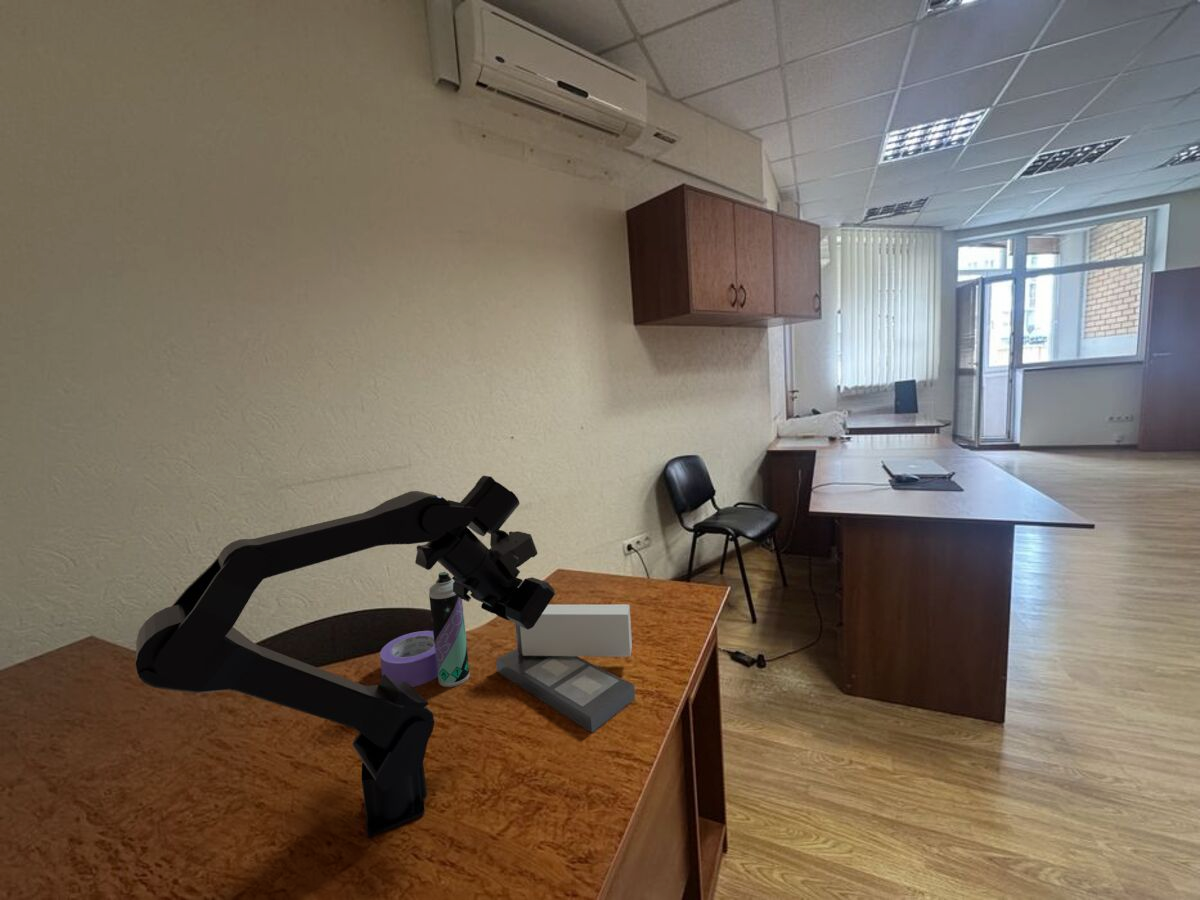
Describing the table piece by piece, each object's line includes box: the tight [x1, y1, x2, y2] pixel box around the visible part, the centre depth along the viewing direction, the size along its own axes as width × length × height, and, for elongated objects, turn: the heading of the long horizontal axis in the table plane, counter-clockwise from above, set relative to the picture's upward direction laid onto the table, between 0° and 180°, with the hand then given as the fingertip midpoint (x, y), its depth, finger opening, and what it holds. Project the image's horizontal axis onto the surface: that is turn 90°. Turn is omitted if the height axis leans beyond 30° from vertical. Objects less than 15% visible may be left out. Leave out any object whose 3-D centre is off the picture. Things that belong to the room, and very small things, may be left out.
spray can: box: [428, 571, 471, 688], centre depth 85 cm, size 6×6×20 cm
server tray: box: [495, 648, 636, 734], centre depth 82 cm, size 10×25×3 cm, turn 46°
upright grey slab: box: [514, 603, 633, 658], centre depth 87 cm, size 22×4×8 cm, turn 82°
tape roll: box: [379, 630, 438, 688], centre depth 89 cm, size 12×12×5 cm
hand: (531, 621), depth 73 cm, fingers closed
